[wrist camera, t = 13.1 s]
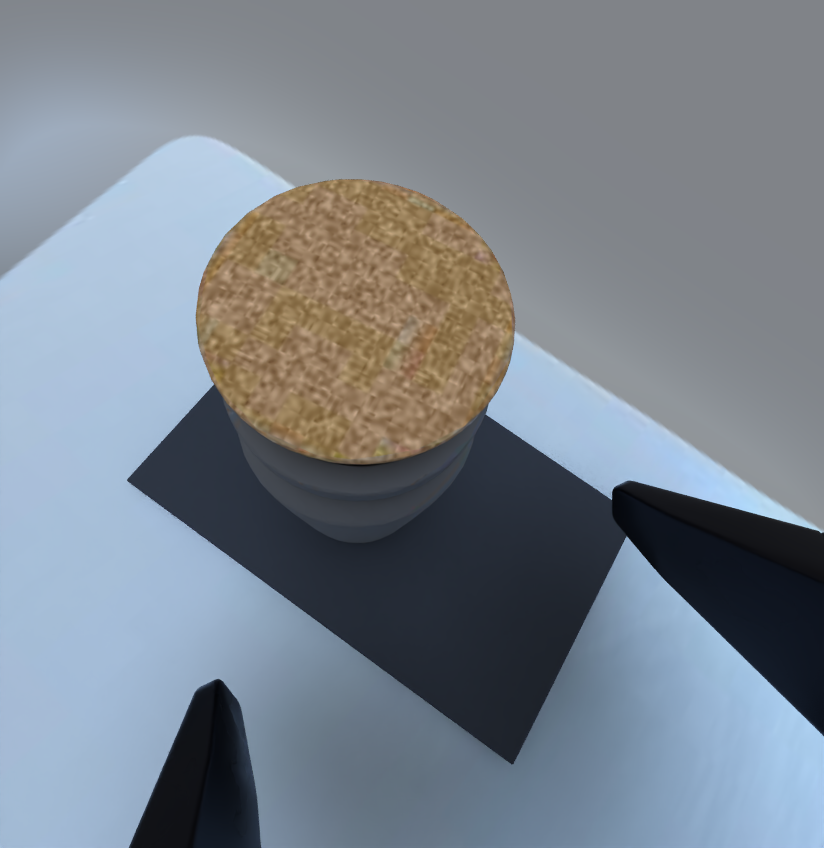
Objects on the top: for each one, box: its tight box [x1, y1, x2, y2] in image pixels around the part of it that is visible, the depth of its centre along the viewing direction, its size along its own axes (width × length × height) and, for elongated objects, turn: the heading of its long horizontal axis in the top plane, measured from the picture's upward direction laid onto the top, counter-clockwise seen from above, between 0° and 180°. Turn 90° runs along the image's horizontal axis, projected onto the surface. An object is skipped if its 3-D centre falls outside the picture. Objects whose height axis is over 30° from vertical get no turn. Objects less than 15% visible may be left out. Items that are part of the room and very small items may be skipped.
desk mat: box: [127, 385, 627, 764], centre depth 21 cm, size 20×12×1 cm, turn 56°
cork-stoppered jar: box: [196, 179, 515, 543], centre depth 14 cm, size 6×6×15 cm
